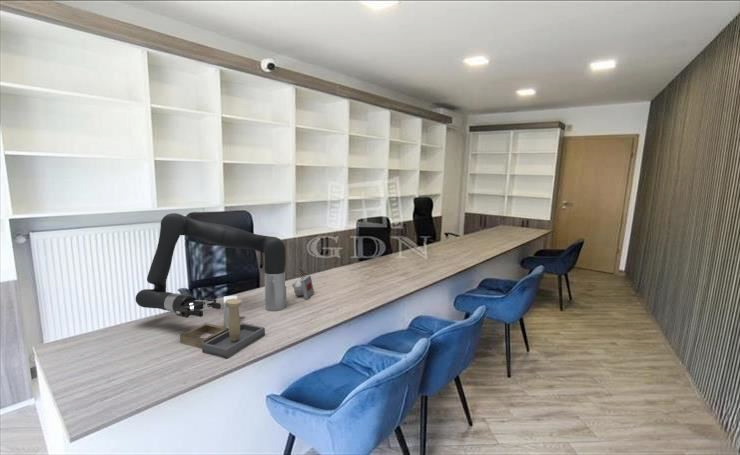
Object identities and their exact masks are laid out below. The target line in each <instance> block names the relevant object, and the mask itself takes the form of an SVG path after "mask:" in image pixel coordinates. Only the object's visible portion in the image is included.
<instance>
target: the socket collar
mask: <svg viewBox="0 0 740 455" xmlns="http://www.w3.org/2000/svg"><path fill="white" fill-rule="evenodd" d="M228 330H229V327H224V326H220V325H216V324H211V323H207V322H205V323H203V324H201V325H198V326H195V327H194V328H192V329H190V330H188V331H186V332H184V333H181V334H179V344H183V345H187V346H192V347H194V348H199V349H202V344H203V343H205V342H207V341H209V340H211V339H213V338H214V337H216V336H218V335H220V334H222V333H224V332H226V331H228ZM206 333H207V334H211V335H209V336H207V337H205V338H203V337H200V336H202V335H203V334H206Z"/></svg>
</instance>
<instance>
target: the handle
mask: <svg viewBox="0 0 740 455" xmlns="http://www.w3.org/2000/svg"><path fill="white" fill-rule="evenodd" d="M242 305H243V301H242V300H241V299H240V298H238V299H228V300H226V306H227V307H229V326H228V328H229V335H230V341H231V342H236V341H239V336H240V324H241V319H240V310H239V309H240V307H241V306H242Z"/></svg>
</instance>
